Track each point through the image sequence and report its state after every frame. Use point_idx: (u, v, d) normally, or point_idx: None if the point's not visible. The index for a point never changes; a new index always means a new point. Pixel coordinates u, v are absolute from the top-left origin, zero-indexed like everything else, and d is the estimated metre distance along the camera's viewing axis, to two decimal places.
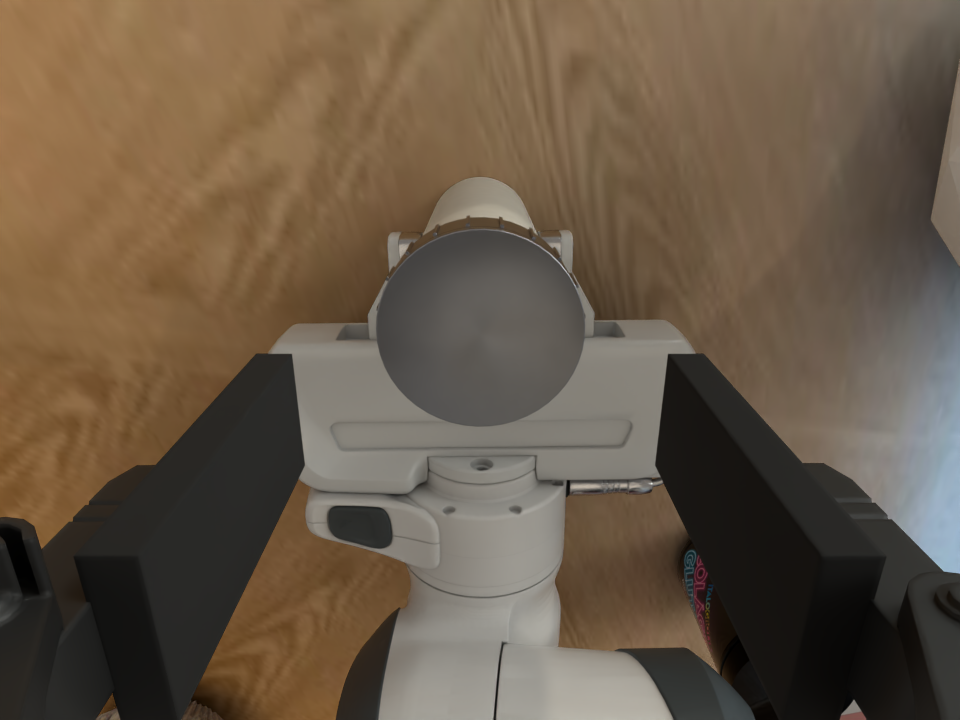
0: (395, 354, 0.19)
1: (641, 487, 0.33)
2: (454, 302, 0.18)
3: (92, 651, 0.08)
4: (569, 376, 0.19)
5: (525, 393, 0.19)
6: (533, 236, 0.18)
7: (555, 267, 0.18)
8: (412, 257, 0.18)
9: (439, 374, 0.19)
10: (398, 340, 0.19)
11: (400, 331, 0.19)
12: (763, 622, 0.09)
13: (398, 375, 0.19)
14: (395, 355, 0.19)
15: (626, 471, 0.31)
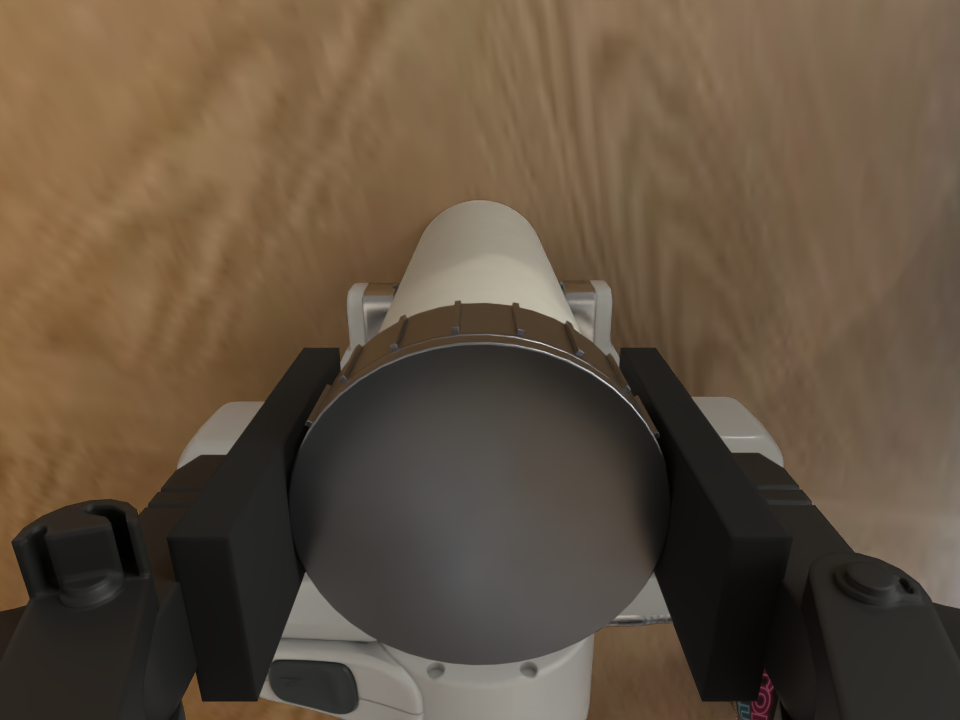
0: (325, 555, 0.10)
1: None
2: (431, 470, 0.10)
3: (181, 629, 0.08)
4: (638, 589, 0.11)
5: (559, 615, 0.11)
6: (578, 349, 0.10)
7: (621, 411, 0.09)
8: (350, 393, 0.09)
9: (406, 586, 0.11)
10: (330, 532, 0.10)
11: (333, 518, 0.10)
12: (689, 605, 0.09)
13: (332, 588, 0.11)
14: (325, 556, 0.10)
15: None
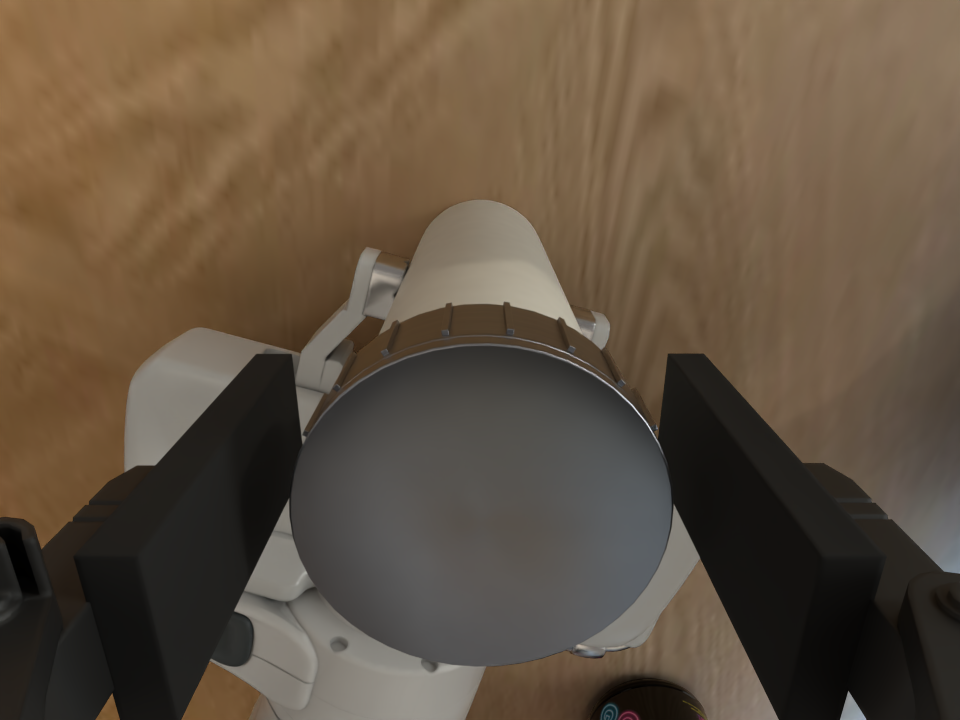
0: (480, 647, 0.11)
1: (591, 651, 0.26)
2: (412, 548, 0.10)
3: (92, 651, 0.08)
4: (617, 395, 0.09)
5: (623, 478, 0.10)
6: (334, 386, 0.10)
7: (385, 378, 0.09)
8: (320, 587, 0.11)
9: (536, 598, 0.11)
10: (457, 637, 0.11)
11: (442, 631, 0.11)
12: (763, 623, 0.09)
13: (517, 654, 0.11)
14: (481, 648, 0.11)
15: None
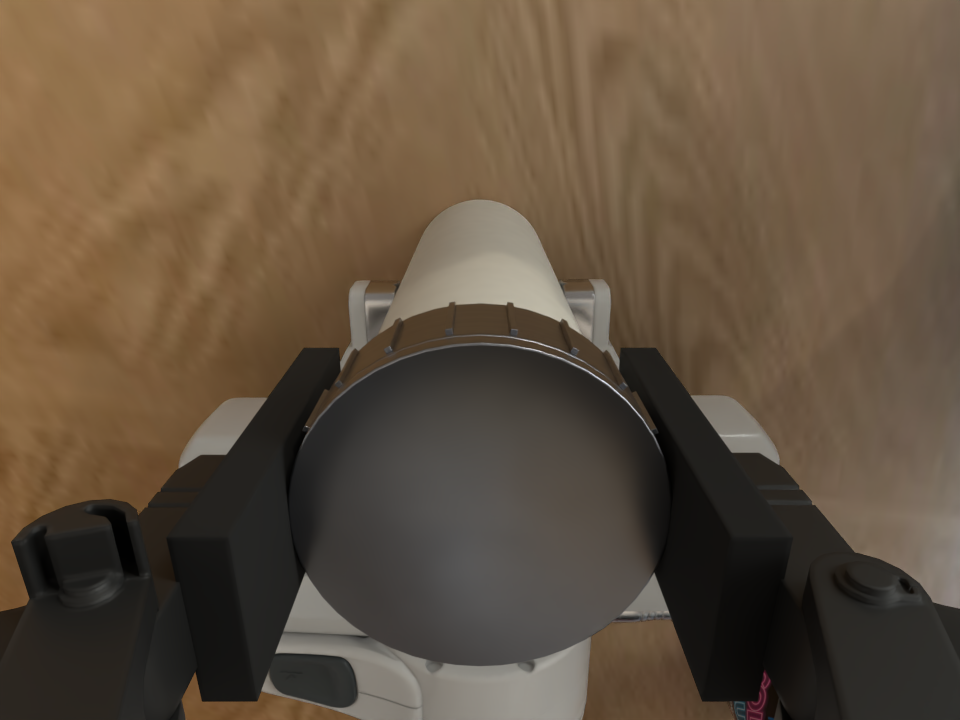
0: (521, 642, 0.11)
1: None
2: (423, 563, 0.10)
3: (181, 629, 0.08)
4: (568, 365, 0.09)
5: (603, 444, 0.10)
6: (304, 428, 0.10)
7: (341, 408, 0.09)
8: (350, 620, 0.11)
9: (559, 582, 0.11)
10: (496, 638, 0.11)
11: (480, 635, 0.11)
12: (689, 605, 0.09)
13: (559, 640, 0.11)
14: (523, 643, 0.11)
15: None
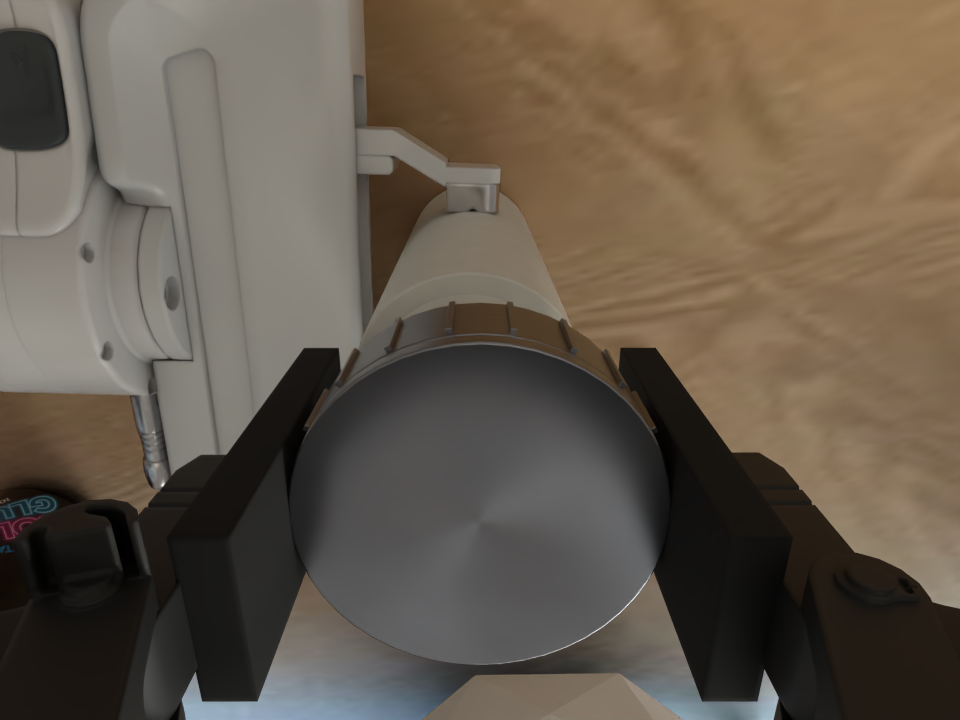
0: (521, 641, 0.11)
1: (157, 478, 0.25)
2: (422, 561, 0.10)
3: (181, 629, 0.08)
4: (567, 364, 0.09)
5: (602, 443, 0.10)
6: (305, 427, 0.10)
7: (341, 408, 0.09)
8: (351, 619, 0.11)
9: (559, 581, 0.11)
10: (496, 636, 0.11)
11: (479, 634, 0.11)
12: (688, 604, 0.09)
13: (559, 639, 0.11)
14: (523, 641, 0.11)
15: None
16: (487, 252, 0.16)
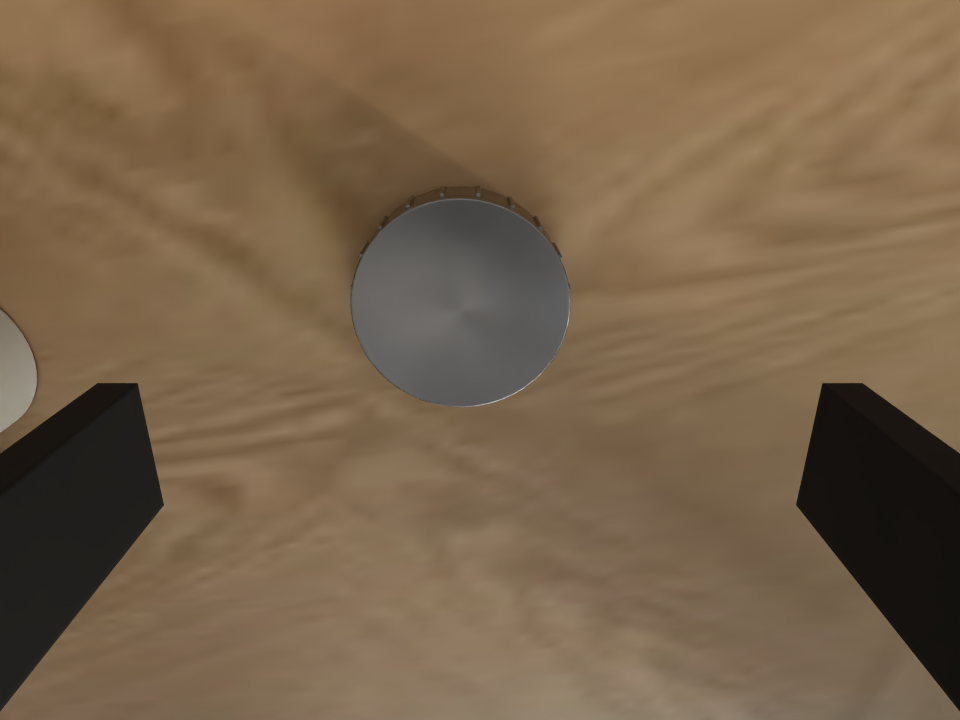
0: (486, 390, 0.19)
1: None
2: (428, 336, 0.18)
3: None
4: (507, 211, 0.17)
5: (529, 259, 0.17)
6: (359, 255, 0.18)
7: (382, 237, 0.17)
8: (385, 375, 0.19)
9: (507, 348, 0.18)
10: (471, 387, 0.19)
11: (462, 385, 0.19)
12: None
13: (509, 388, 0.19)
14: (487, 390, 0.19)
15: None
16: None
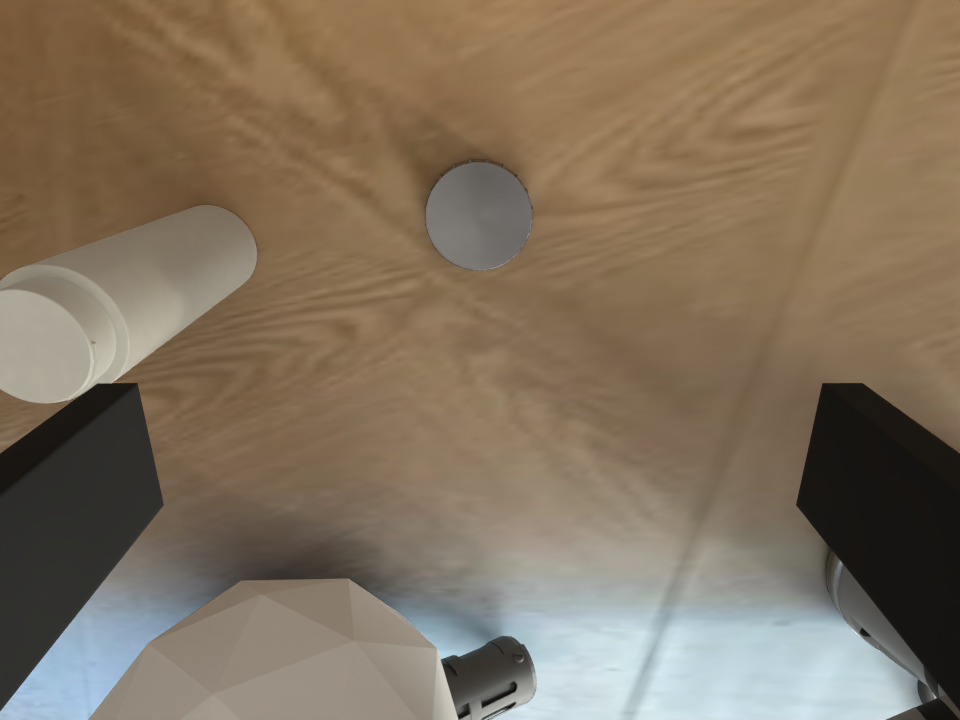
0: (491, 261, 0.37)
1: None
2: (462, 231, 0.37)
3: None
4: (501, 168, 0.35)
5: (511, 192, 0.36)
6: (429, 191, 0.36)
7: (441, 181, 0.36)
8: (440, 252, 0.37)
9: (501, 238, 0.37)
10: (483, 259, 0.37)
11: (478, 258, 0.37)
12: None
13: (502, 259, 0.37)
14: (491, 261, 0.37)
15: None
16: (85, 253, 0.26)
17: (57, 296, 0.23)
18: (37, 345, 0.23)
